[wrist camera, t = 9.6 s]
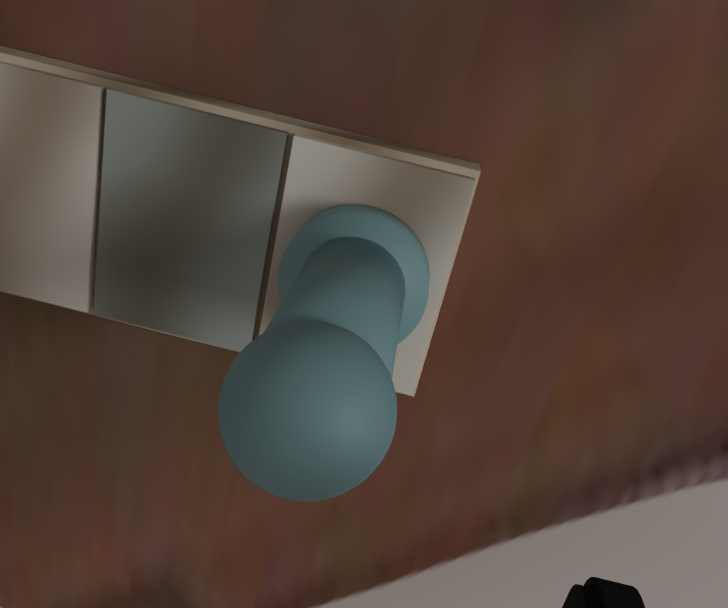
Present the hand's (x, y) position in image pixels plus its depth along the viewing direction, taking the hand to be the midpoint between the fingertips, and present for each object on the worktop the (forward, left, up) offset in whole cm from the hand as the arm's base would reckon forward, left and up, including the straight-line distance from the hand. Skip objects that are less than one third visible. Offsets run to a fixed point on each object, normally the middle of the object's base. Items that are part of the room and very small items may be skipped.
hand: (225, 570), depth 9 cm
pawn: (0, -1, -10) cm, 10 cm away
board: (+7, -1, -12) cm, 14 cm away
